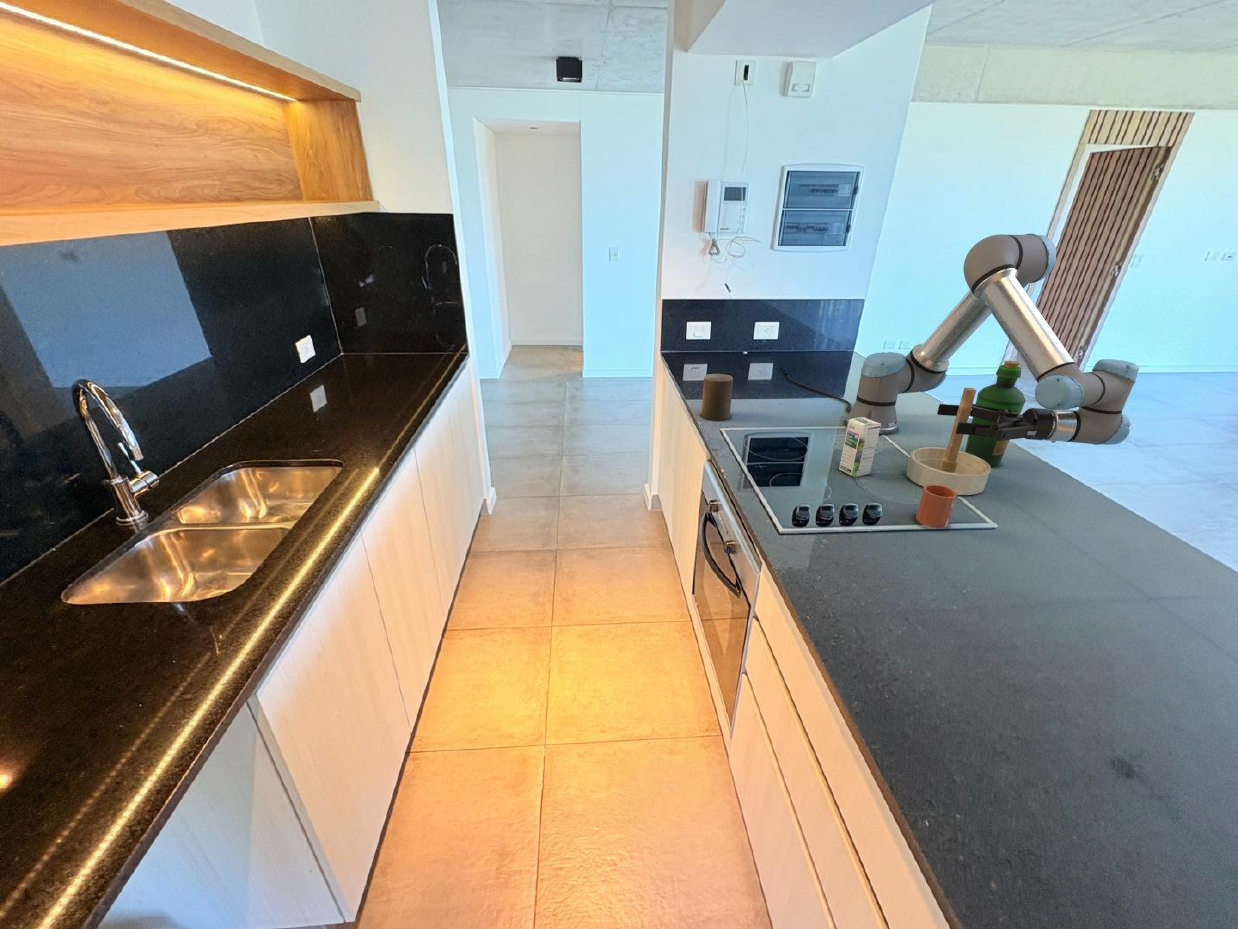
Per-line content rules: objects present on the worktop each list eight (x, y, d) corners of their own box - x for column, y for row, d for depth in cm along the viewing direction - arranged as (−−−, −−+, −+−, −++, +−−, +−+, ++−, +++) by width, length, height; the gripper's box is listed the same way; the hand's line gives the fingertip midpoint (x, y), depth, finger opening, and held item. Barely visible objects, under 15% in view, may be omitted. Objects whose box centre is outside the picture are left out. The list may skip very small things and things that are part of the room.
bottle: (1011, 470, 142) (1046, 368, 130) (967, 467, 144) (998, 366, 132) (994, 455, 151) (1025, 358, 140) (953, 452, 153) (980, 356, 142)
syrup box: (837, 469, 143) (847, 419, 137) (854, 465, 145) (864, 415, 139) (854, 478, 138) (864, 426, 132) (870, 474, 140) (882, 422, 134)
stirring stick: (938, 480, 135) (964, 389, 125) (936, 476, 137) (961, 387, 127) (953, 481, 134) (980, 390, 124) (950, 478, 136) (976, 387, 126)
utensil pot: (908, 517, 120) (917, 485, 116) (933, 514, 121) (941, 483, 118) (928, 531, 114) (937, 499, 111) (953, 528, 115) (963, 496, 112)
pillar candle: (717, 422, 176) (721, 378, 170) (695, 415, 183) (698, 373, 176) (735, 416, 182) (739, 373, 176) (713, 409, 188) (716, 368, 182)
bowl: (890, 470, 142) (895, 450, 140) (947, 464, 145) (952, 444, 143) (939, 501, 127) (945, 478, 124) (1001, 494, 130) (1008, 472, 127)
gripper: (1068, 460, 116) (961, 452, 120) (1016, 421, 138) (928, 415, 142) (1080, 428, 113) (971, 421, 117) (1026, 394, 135) (935, 388, 139)
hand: (947, 418), depth 129 cm, fingers open, 13 cm apart
